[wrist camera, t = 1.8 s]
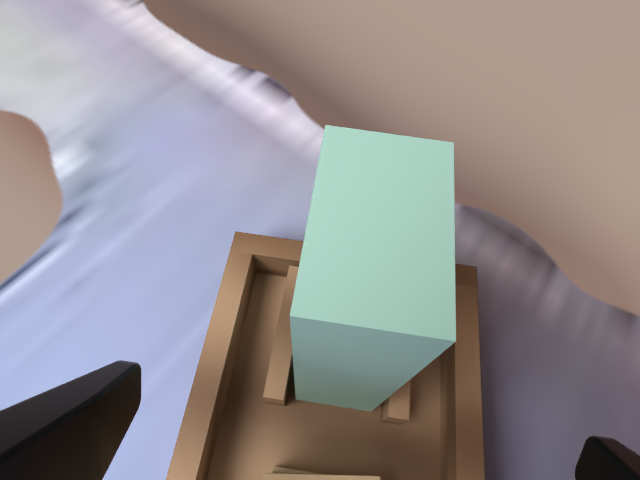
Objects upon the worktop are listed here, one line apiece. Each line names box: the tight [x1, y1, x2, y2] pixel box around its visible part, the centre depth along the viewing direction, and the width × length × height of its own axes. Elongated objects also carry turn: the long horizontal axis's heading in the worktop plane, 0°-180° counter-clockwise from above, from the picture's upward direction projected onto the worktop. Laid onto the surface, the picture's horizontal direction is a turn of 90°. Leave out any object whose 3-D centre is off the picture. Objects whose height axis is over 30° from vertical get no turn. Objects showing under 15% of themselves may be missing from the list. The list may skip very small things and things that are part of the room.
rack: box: [166, 232, 485, 480], centre depth 17 cm, size 15×11×3 cm
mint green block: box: [290, 125, 456, 412], centre depth 14 cm, size 5×3×11 cm, turn 172°
